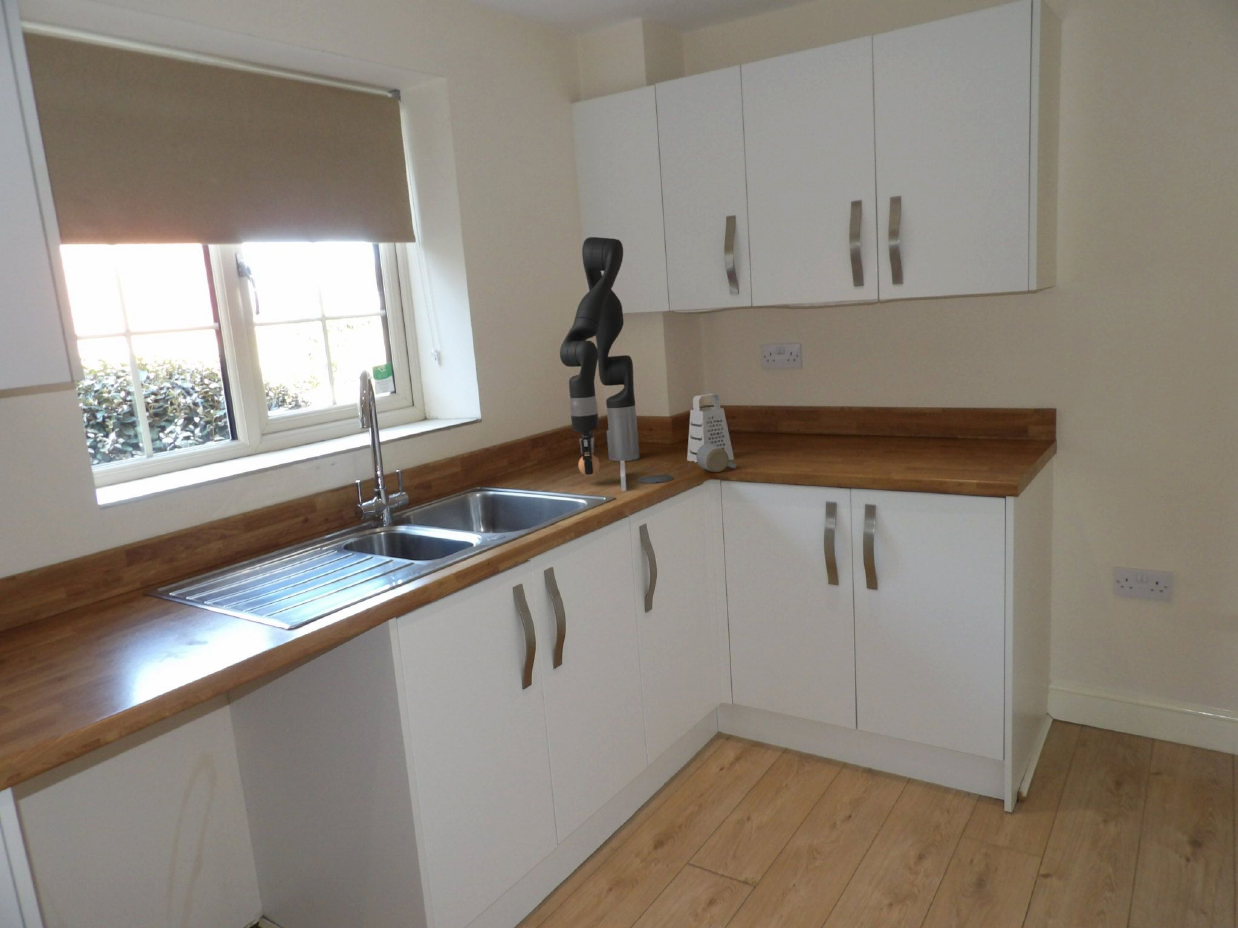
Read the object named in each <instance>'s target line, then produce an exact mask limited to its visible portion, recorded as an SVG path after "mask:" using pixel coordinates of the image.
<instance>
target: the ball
mask: <svg viewBox="0 0 1238 928" xmlns="http://www.w3.org/2000/svg"><path fill="white" fill-rule="evenodd" d="M585 456H590V454H588V455H585ZM592 458H593V460H592V465H593V474H589V475H586V474H585V466H584V461H583V459H582V457H580V459H579V460H578V466H577V467H578V470H579V472H580V473H581V474H582V475H584V476H588V477H589V476H590V477H591V476H594V475H596V474H597V473H598V471H599V470H600V467H601V466H600V464H601V463H600V461H599V459H598V457H597V456H595V455H592Z"/></svg>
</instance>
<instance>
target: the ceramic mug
mask: <svg viewBox="0 0 1238 928" xmlns="http://www.w3.org/2000/svg"><path fill="white" fill-rule="evenodd" d="M696 458H697V462H698V463H697V464H698V465H699V467H700V468H702V469H704V470H707V471H708V472H711V473H721V472H723V471H724V470H725V469H726V468H727V467H728V468H729V469H734V470H735V469H736V468H737V463H736V462H734V461H731V460H729V457H728V454H727V453H726V451H725V450H724V448H720V447H719V446H717V445H715V444H712V443H706V444H703V445H702V446H701V447H700V448H699V449H698V451H697V455H696Z"/></svg>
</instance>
